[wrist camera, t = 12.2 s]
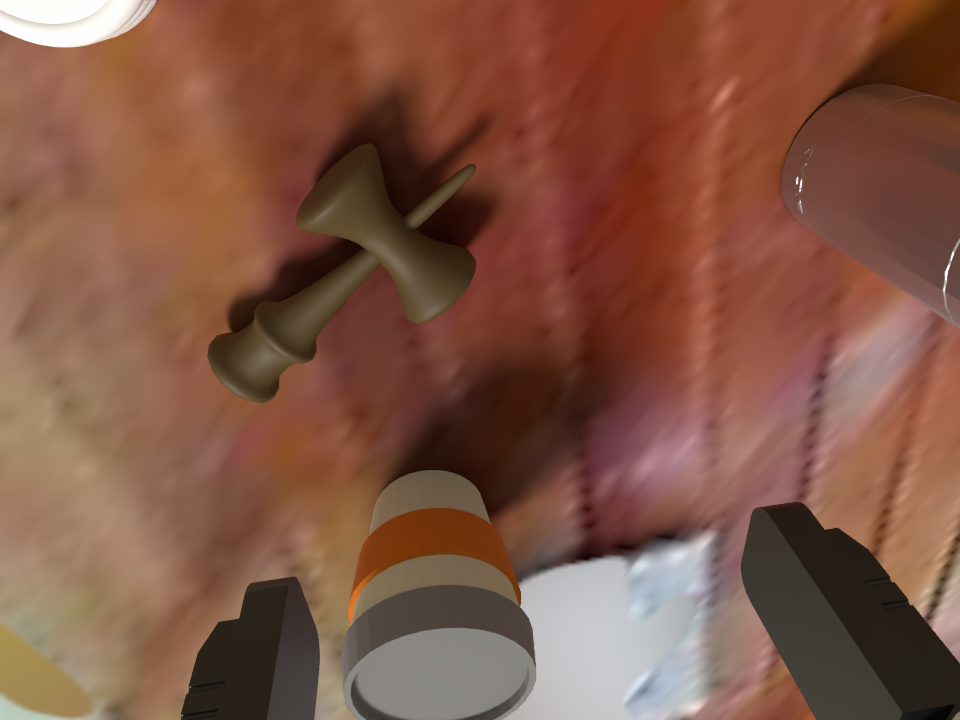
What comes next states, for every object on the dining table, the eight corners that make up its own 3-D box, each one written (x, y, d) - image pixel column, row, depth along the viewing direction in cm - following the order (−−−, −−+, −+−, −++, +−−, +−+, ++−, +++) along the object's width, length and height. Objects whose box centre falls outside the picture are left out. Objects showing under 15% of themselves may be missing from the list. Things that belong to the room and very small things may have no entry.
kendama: (183, 303, 40) (412, 82, 35) (301, 388, 45) (519, 207, 39) (155, 356, 36) (415, 109, 30) (290, 445, 40) (537, 248, 34)
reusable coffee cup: (385, 433, 47) (383, 607, 35) (531, 475, 51) (577, 644, 39) (330, 544, 53) (311, 728, 40) (466, 574, 57) (487, 750, 44)
